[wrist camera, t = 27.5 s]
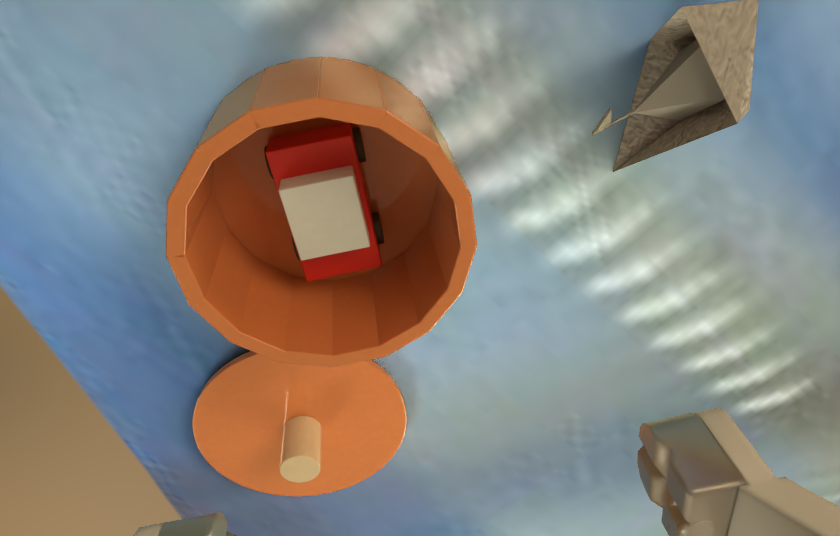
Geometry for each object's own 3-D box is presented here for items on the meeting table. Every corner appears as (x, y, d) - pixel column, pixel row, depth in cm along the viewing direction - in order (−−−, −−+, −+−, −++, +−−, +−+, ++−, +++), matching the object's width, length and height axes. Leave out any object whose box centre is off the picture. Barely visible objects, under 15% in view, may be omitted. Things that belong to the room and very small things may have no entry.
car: (263, 133, 30) (254, 163, 27) (356, 114, 30) (359, 142, 27) (302, 256, 34) (299, 297, 31) (384, 239, 34) (390, 278, 31)
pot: (158, 86, 29) (109, 138, 23) (429, 33, 29) (455, 69, 23) (246, 304, 36) (228, 389, 30) (461, 260, 36) (488, 335, 30)
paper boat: (739, 165, 34) (608, 240, 33) (665, 93, 37) (542, 160, 35) (862, -12, 23) (675, 91, 22) (745, -96, 26) (571, -9, 24)
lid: (161, 361, 38) (141, 415, 34) (383, 315, 38) (389, 363, 34) (236, 499, 46) (226, 556, 42) (419, 460, 46) (427, 513, 42)
